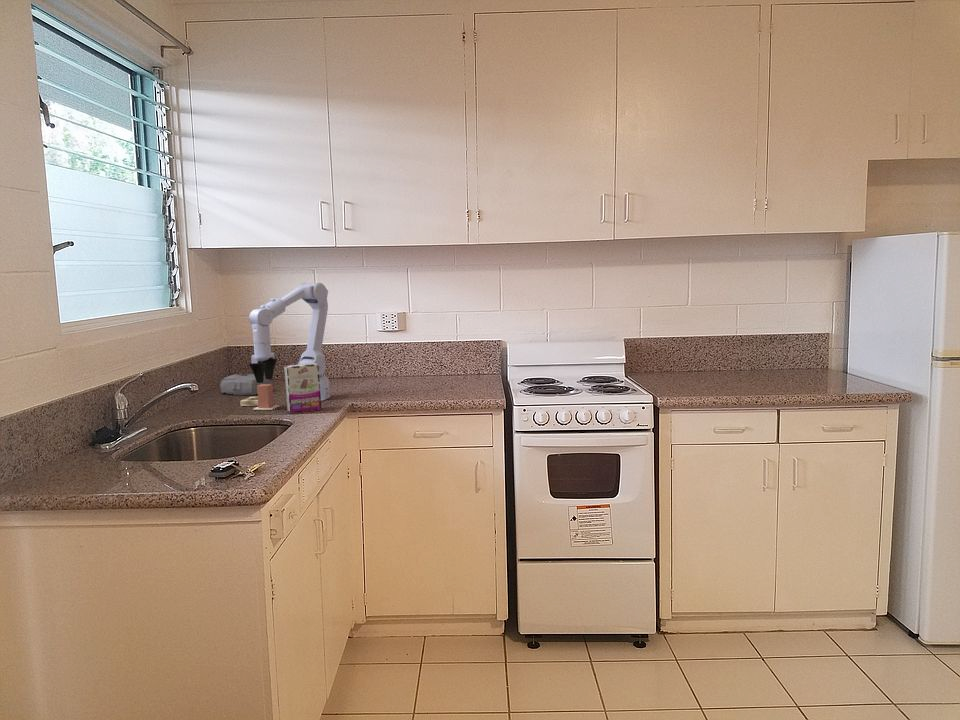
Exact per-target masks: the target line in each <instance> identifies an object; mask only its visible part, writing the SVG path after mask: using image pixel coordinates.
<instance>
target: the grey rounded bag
mask: <svg viewBox="0 0 960 720" xmlns="http://www.w3.org/2000/svg"><path fill="white" fill-rule="evenodd" d="M270 380H271V379H266V377H265V376H264V380H263V383H257V382H256V379H255V376H254V373H253V372H252V373H251V372H243V373H235V374H232V375H229V376H226V377H225V376H224V378H223V379H222V380H220V383H219V388H220V391H221V393H222V394H227V395H229V394H233V395H232V396H243V395H245V396H257V395H256V394H257V386H258V385H261V384H271V381H270Z"/></svg>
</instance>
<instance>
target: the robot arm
mask: <svg viewBox="0 0 960 720" xmlns="http://www.w3.org/2000/svg"><path fill="white" fill-rule="evenodd" d="M328 293H329V290H328V289H327V287H326V286H325V285H324V284H323V283H322V282H317V283H316V282H315V283H309V282H308V283H307V282H303V283H301V284H300V285H297V286H296V287H295V288H294V289H292V290H291V291H290V292H288V293H287V294H286V295H284V296H283V297H281V298H277V297H276V298H275V297H274V298H273V297H272V298H270V299H269V302H267V303H266V304H262V305H260V306H259V309H258V308H256V309H252V311H251V312H250V313H249V316H248V317H247V318H248V319H247V320H248V322H249V323H250V325H251V329H252V337H253V339H252V341H253V352H254V354H252V355H251V359H250V361H251V362H249V363H248V367H250V369H251V370H252V373H254V376H255V379H256V382H257V383H263V380H264V377H266V379H269V380H272V379H273V377H274V370H275V367H276V365H277V362H278V359H277V358H275V352H272V346H271V344H272V343H271V333H270V325H271V323H272V322H273V320H274V319H276V318H277V317H278V316H280V315H282V314H284V313H285V311H286V308H287V307H288V306H290V305H292V304H293V303H296V302H297V301H299V300H303V301H304V302H305V303H307V304H308V305H309V306H310V308H311V309H312V314H311V319H310V326H309V330H308V337H307V344H306V349H305V350H304V351H303V352H302V353H301V356H300V359H299V361H298V363H297V365H298V364H309V363H317V364H318V366H319V380H320V394H321V402H322V401H326V400H327V399H329V398H331V395H330V393H331V392H330V380H329V377H328V376H326V375H325V376H324V373H325V371H326V369H327V368H326V367H327V365H326V356H325V355H324V353H322V348H323V343H324V342H323V341H324V335H325V327H326V323H327V316H328V310H329V304H328V303H329V302H328V295H329V294H328Z"/></svg>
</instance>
